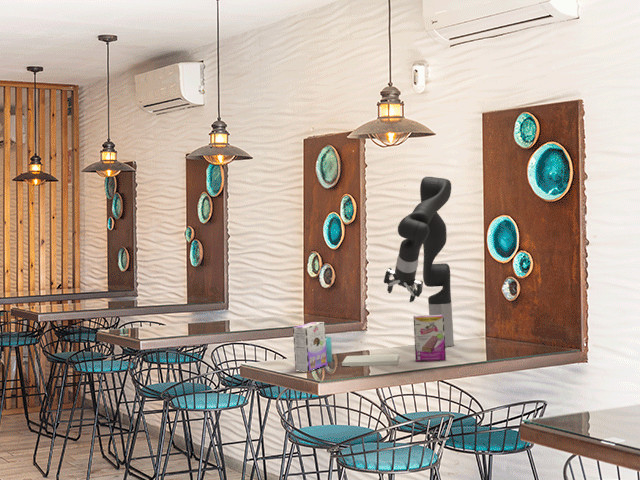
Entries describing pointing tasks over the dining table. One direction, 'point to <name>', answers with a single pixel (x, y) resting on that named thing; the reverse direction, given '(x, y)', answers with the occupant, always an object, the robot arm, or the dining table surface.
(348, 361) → the plain white board
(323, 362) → the candy box
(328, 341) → the teal rounded cylinder
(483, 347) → the dining table surface
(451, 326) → the robot arm
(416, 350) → the candy bar box
